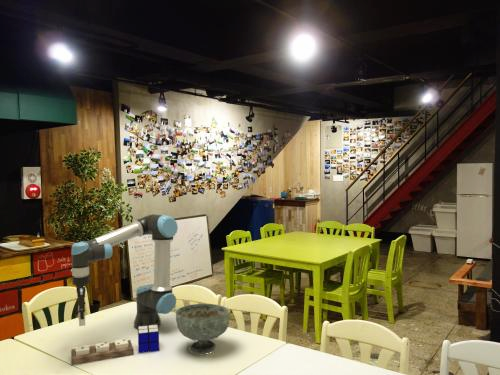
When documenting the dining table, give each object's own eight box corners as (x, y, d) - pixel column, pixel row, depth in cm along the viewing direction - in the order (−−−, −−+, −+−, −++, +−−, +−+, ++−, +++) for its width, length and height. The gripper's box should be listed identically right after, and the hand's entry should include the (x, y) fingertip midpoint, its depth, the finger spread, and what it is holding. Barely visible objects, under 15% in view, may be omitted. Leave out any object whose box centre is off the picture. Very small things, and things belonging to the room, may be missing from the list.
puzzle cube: (138, 353, 210) (138, 333, 209) (138, 345, 219) (137, 326, 219) (159, 351, 212) (158, 331, 212) (158, 343, 222) (157, 324, 222)
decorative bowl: (165, 355, 206) (166, 314, 206) (188, 336, 231) (189, 299, 230) (216, 364, 198) (218, 321, 198) (234, 343, 223) (236, 305, 222)
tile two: (127, 344, 216) (126, 338, 216) (128, 348, 210) (128, 342, 210) (114, 346, 213) (114, 340, 213) (115, 350, 208) (115, 344, 208)
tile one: (88, 350, 209) (88, 344, 209) (89, 355, 203) (89, 349, 203) (75, 352, 206) (75, 346, 206) (75, 357, 201) (75, 351, 201)
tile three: (108, 347, 212) (108, 341, 212) (109, 351, 207) (109, 345, 207) (95, 349, 210) (95, 343, 210) (96, 354, 204) (96, 347, 204)
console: (130, 345, 219) (130, 339, 219) (133, 354, 208) (133, 348, 208) (71, 355, 208) (71, 349, 208) (71, 365, 197) (71, 359, 197)
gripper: (71, 271, 212) (73, 315, 213) (72, 282, 191) (73, 331, 192) (88, 269, 215) (89, 313, 216) (90, 280, 194) (91, 328, 195)
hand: (81, 322), depth 204 cm, fingers open, 10 cm apart
